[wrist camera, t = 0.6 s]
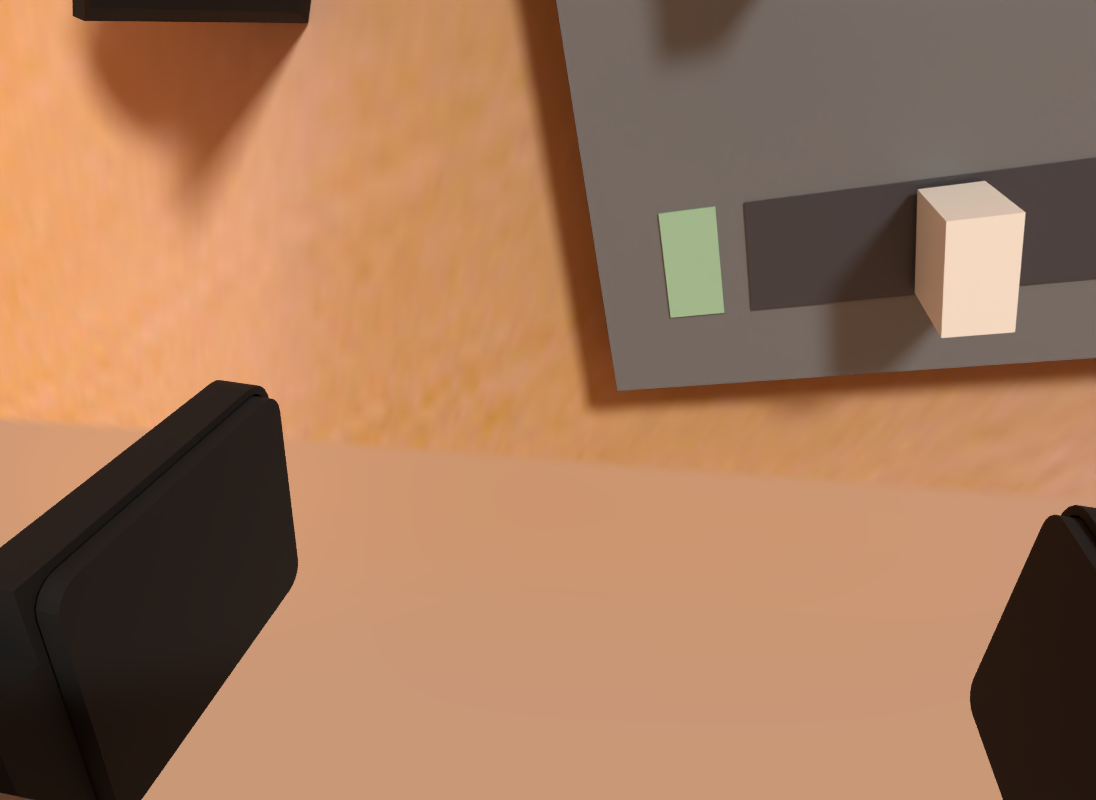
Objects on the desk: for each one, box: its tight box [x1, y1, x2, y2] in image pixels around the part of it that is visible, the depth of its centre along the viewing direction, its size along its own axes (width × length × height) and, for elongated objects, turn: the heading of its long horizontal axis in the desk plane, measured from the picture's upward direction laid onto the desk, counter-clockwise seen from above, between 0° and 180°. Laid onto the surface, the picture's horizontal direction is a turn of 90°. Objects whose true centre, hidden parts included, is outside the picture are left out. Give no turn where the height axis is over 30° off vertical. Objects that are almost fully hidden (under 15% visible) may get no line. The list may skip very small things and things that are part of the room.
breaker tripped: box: [915, 181, 1026, 338], centre depth 24 cm, size 2×4×4 cm, turn 10°
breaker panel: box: [556, 0, 1096, 391], centre depth 25 cm, size 24×22×3 cm
